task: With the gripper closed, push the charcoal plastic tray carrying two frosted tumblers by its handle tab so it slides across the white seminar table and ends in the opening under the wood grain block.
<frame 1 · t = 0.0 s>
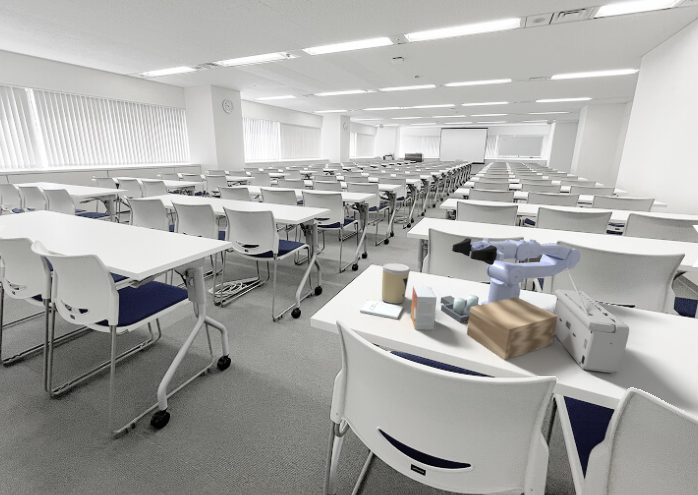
hand: (462, 251, 97), 22 cm above the table, tool horizontal, fingers open, 7 cm apart
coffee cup: (392, 299, 115), on the table, touching supplement bottle
tray: (464, 313, 106), on the table
stereo radio cassette player: (577, 350, 87), on the table
wood grain block: (508, 339, 91), on the table
supplement bottle: (389, 294, 119), on the table, touching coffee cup
external hard drive: (381, 312, 108), on the table
small box: (421, 323, 100), on the table
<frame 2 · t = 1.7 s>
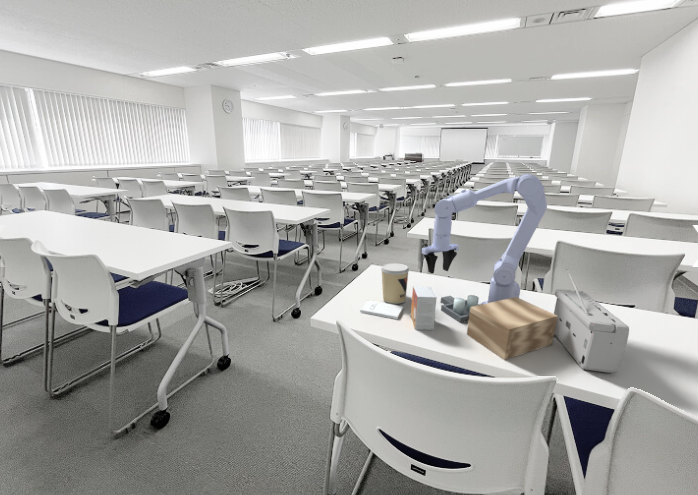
hand: (438, 271, 116), 9 cm above the table, tool pointing down, fingers open, 6 cm apart
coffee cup: (394, 299, 115), on the table, touching supplement bottle
supplement bottle: (394, 294, 119), on the table, touching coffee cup
everything else where it was.
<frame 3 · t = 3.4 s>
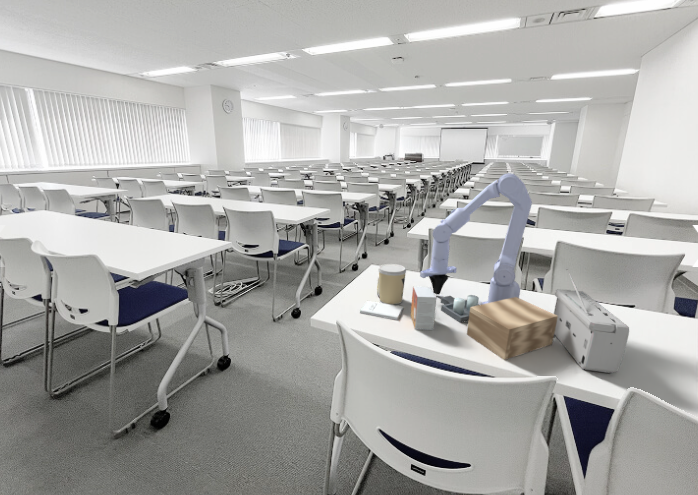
hand: (436, 293, 119), 1 cm above the table, tool pointing down, fingers closed
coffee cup: (390, 300, 114), on the table, touching supplement bottle
supplement bottle: (384, 295, 118), on the table, touching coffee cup
everything else where it was.
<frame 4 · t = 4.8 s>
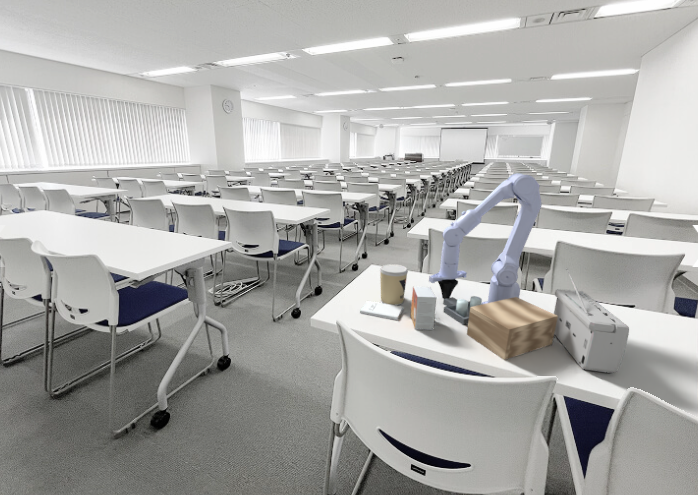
hand: (445, 298, 114), 1 cm above the table, tool pointing down, fingers closed, pressing on tray
tray: (467, 314, 105), on the table, touching gripper
supplement bottle: (389, 295, 118), on the table, touching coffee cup
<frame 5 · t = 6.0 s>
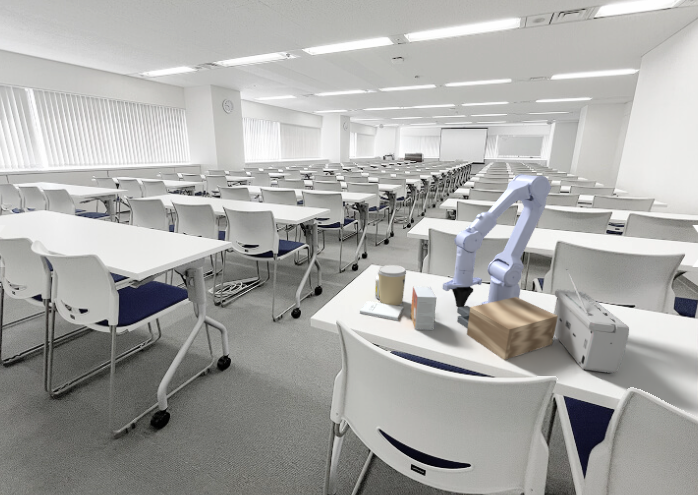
hand: (459, 307, 108), 1 cm above the table, tool pointing down, fingers closed, pressing on tray
tray: (483, 325, 99), on the table, touching gripper
supplement bottle: (382, 297, 117), on the table, touching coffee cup
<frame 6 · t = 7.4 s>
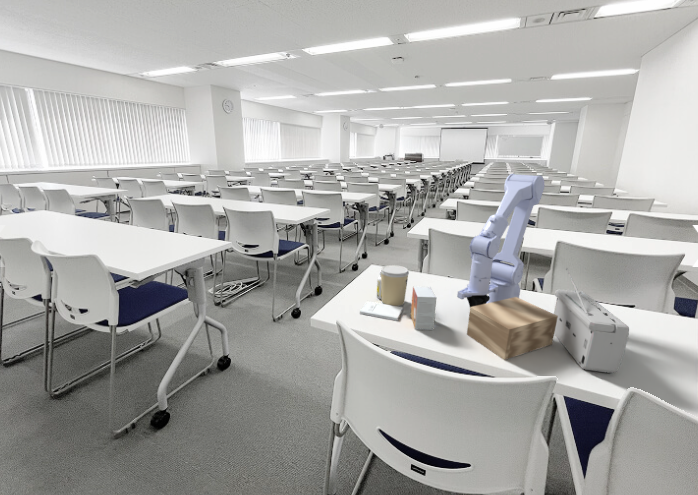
hand: (474, 316, 102), 1 cm above the table, tool pointing down, fingers closed
tray: (499, 336, 93), on the table, touching gripper
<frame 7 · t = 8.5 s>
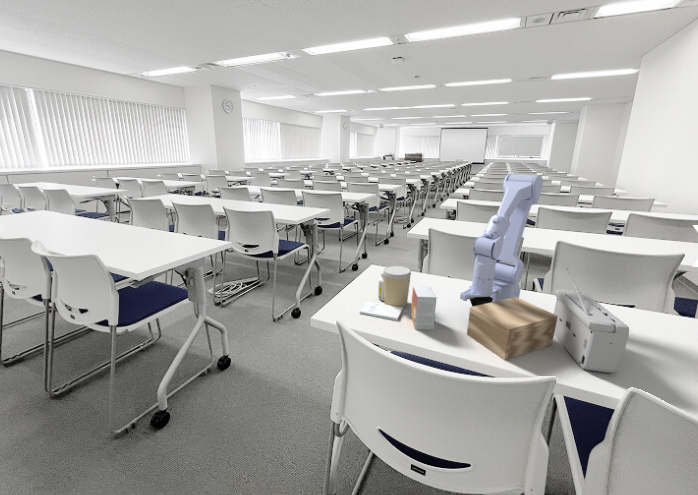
hand: (477, 317, 101), 1 cm above the table, tool pointing down, fingers closed
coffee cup: (395, 303, 113), on the table, touching supplement bottle
tray: (502, 339, 92), on the table, touching gripper
supplement bottle: (385, 298, 116), on the table, touching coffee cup
everything else where it was.
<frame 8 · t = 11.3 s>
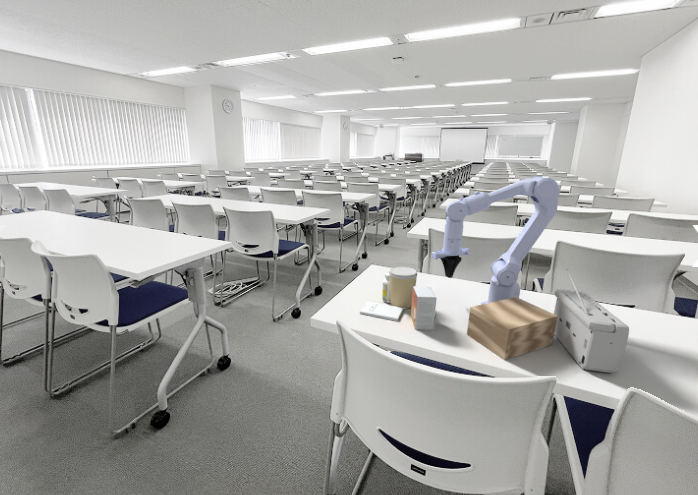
hand: (448, 276, 112), 9 cm above the table, tool pointing down, fingers closed
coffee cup: (401, 304, 112), on the table, touching supplement bottle
tray: (502, 339, 92), on the table
supplement bottle: (390, 300, 115), on the table, touching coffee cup
at the end: tray inside the target area (1.4 cm from its centre), on the table; tray tilted 1° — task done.
